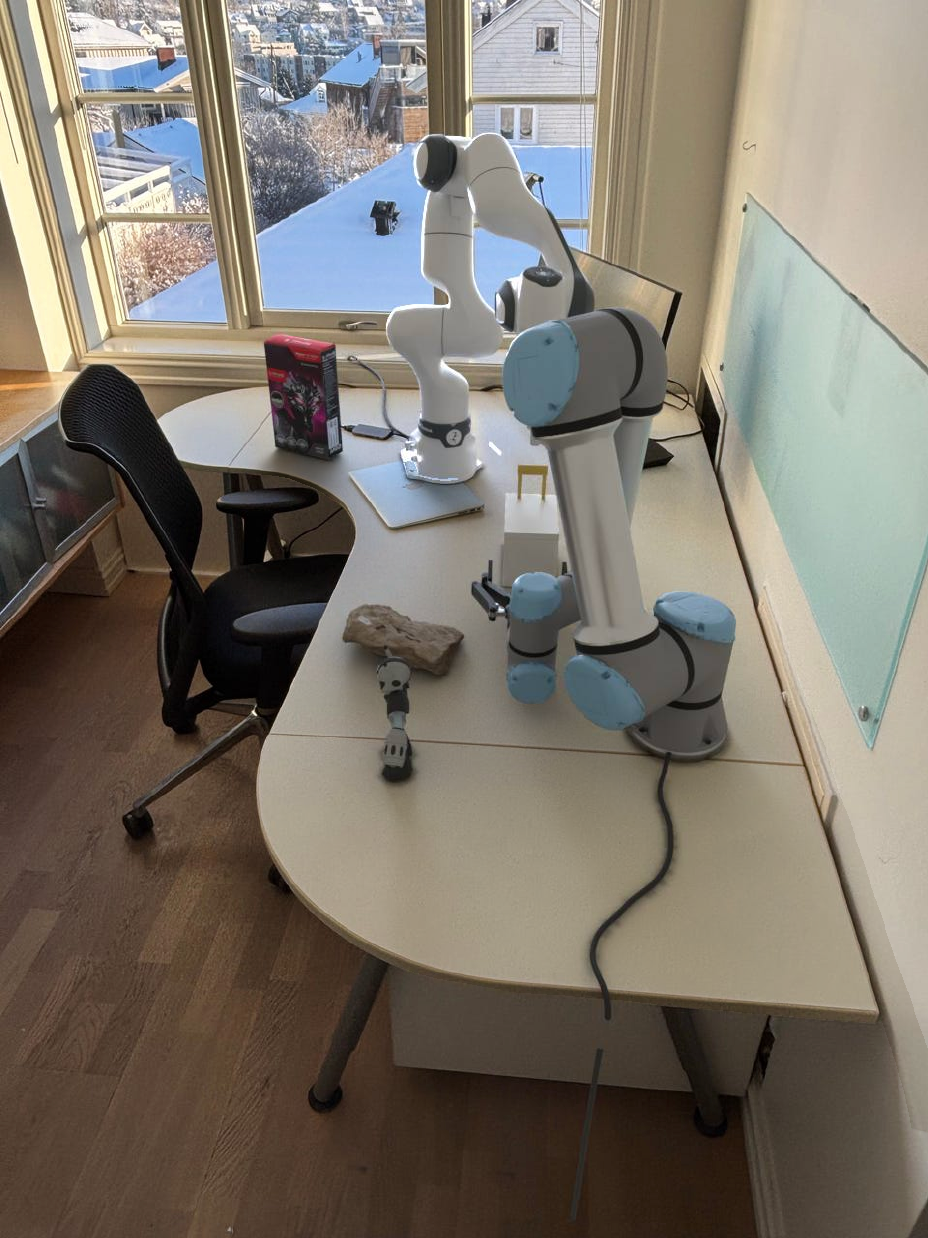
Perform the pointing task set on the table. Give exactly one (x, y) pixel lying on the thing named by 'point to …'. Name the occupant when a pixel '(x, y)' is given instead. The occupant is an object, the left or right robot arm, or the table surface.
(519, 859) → the table surface
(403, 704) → the robot
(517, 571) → the chest
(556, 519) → the white lid with handle
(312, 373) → the graphics card box
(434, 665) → the stone
